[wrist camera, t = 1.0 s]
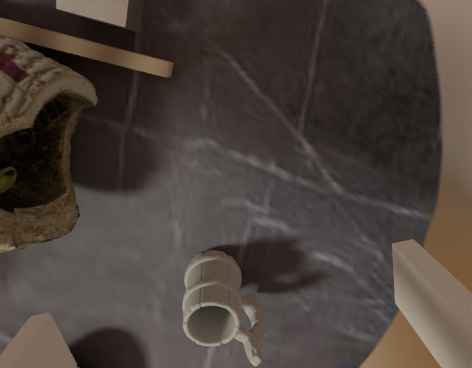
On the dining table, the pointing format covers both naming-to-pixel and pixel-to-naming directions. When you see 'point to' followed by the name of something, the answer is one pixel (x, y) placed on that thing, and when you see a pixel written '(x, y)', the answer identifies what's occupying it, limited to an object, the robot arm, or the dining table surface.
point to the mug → (220, 305)
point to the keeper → (106, 11)
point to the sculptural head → (37, 144)
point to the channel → (85, 48)
